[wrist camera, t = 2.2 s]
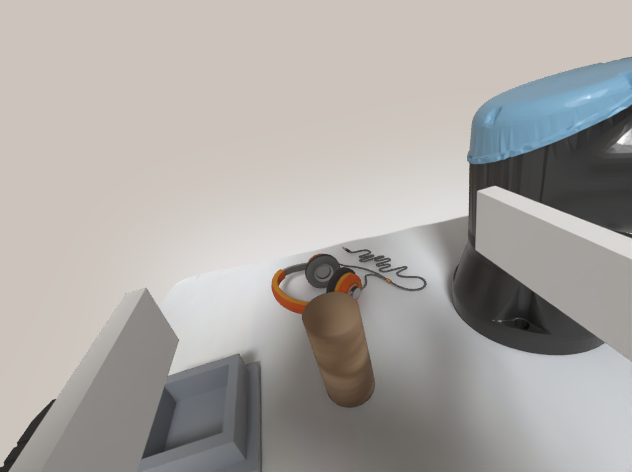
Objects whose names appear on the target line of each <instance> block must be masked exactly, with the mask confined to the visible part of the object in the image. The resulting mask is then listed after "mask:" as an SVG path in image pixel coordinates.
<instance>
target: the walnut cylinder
mask: <svg viewBox="0 0 632 472" xmlns="http://www.w3.org/2000/svg"><path fill="white" fill-rule="evenodd" d="M302 320H303V323H304V326H305V329H306V332H307V335H308V338H309V341H310V343H311V346H312V349H313V352H314V355H315V358H316V361H317V364H318V367H319V370H320V373H321V375H322V378H323V381H324V384H325V387H326V390H327V393H328V395H329V397H330V398H331V400H332V401H333V402H335V403H336V404H338V405H340V406H343V407H356V406H359V405H361V404H363V403H365V402H366V401H367V400H368V399H369V398H370V397H371V395H372V393H373V391H374V387H375V380H374V375H373V370H372V366H371V361H370V356H369V352H368V347H367V342H366V338H365V333H364V329H363V324H362V319H361V315H360V310H359V305H358V302H357V301H356V299H355V298H354V297H352V296H351V295H349V294H346V293H343V292H329V293H325V294H322V295H319V296H317V297H316V298H314V299H313V300H311V301H310V302H309V303H308V304H307V305H306V307H305V308H304V311H303V314H302Z"/></svg>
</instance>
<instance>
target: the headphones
mask: <svg viewBox="0 0 632 472" xmlns="http://www.w3.org/2000/svg"><path fill="white" fill-rule="evenodd" d="M342 248H343V249H345V251H347V252H350V253H356V252H360V251H368V252H369V253H367V254H364V255H361V256H359V258H363V259H360V260H359V261H360V262H366V261H370V260H373V259H374V261H383V260H387V259H389V260H387V261H385V262H381V263H378V264H376V266H378V267H379V266H384V265H389V266H386V267H382V268H380V269H379V271H380V272H389V271H393V270H397V269H401V268H404V269H402V270H400V271H398V272H397V273H396V274H397V275H398V276H399V277H405V278H420V279H422V280H423V281H424V282H425V285H424V286H423V287H421V288H418V289H408V288H404V287H401V286H399V285H396V284H395V283H393V282H392V281H391V280H390V279H388V278H385V277H384V276H382V275H380V274H378V273H376V272H374V271H371V270H369V269H365V268H362V267H357V266H347V265H343V264H339V263H338V261H337V260H336V259H335V258H334V257H333V256H331V255H328V254H317V255H314V256H313V257H312V258H311V259H310V260H309V261H308V263H302V264H297V265H293V266H290V267H287V268H285V269H283V270H279V271H278V272H277V273H276V274H275V275H274V277H273V279H272V292H273V294H274V297H275V298H276V300H277V301H278V302H279V303H280V304H281V305H282V306H283V307H285V308H286V309H288V310H290V311H293V312H296V313H300V314H303V311H304V308H305V307H306V305H307V304H308V303H309V302H304V301H299V300H296V299H293V298H291V297H289V296H287V295H286V294H285V293H283V292H282V290H281V289H280V288H279V284H280V283H281V281H282V280H283V279H285V276H286V275H288V274H291V273H294V272H298V271H302V270H305V275H306V278H307V280H308V282H309V283H310V284H311V285H312V286H314V287H317V288H325V287H327V292H326V293H329V292H343V293H346V294H349V295H351V296H352V297H354V298H355V299H356V300H357V299H358V297H359V295H360V292H361V290H362V289H364V288H365V286H366V285H367V278H366V276H369V275H373V276H377V277H380V278H383V279H384V280H386V281H387V282H388V283H391V284H393V285H395V286H397V287H399V288H402V289H405V290H410V291H416V290H421V289H423V288H424V287H425V286H426V281H425V279H423V278H422V277H418V276H401V275H399V274H398V273H399V272H401V271H403V270H406V269H407V268H408V267H407V266H403V267H399V268H395V269H391V270H387V271H382V270H381V269H384V268H388V267H390V266H391V265H390V264H383V263H386V262H389V261H391V259H390V258H385V259H381V258H384V256H378V257H375V258H372V259H369V260H364V259H368V258H371V257H374V255H369V254H370V253H371V251H369V250H359V251H355V252H351V251H350V250H349V249H347V248H344V247H342ZM366 255H368V256H366ZM362 256H364V257H362ZM366 257H367V258H366ZM379 257H380V258H379ZM377 259H381V260H377ZM361 260H364V261H361ZM379 264H382V265H379ZM340 265H341V266H345V267H343V268H340ZM347 267H354V268H359V269H363V270H367V271H370V272H372V273H375V274H367V275H365V281H366V282H365V285H364V286H363V287H362V284H361V279H360V278H359V277H358V276H357V275H356V274H355V272H354V271H353V270H351V269H349V268H347ZM405 267H406V268H405ZM376 274H377V275H376ZM361 287H362V288H361Z"/></svg>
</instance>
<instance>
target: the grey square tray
mask: <svg viewBox="0 0 632 472" xmlns="http://www.w3.org/2000/svg"><path fill="white" fill-rule="evenodd" d="M137 472H261V427H260V367H259V365H258V363H257V362H254V363H251V364H248V365H245V364H244V362H243V360H242V358H241V356H240V354H236V355H233V356H230V357H227V358H224V359H220V360H217V361H214V362H211V363H208V364H205V365H201V366H198V367H195V368H192V369H189V370H185V371H182V372H179V373H176V374H173V375H170V376H167V380H166V383H165V386H164V389H163V392H162V395H161V398H160V402H159V405H158V408H157V411H156V414H155V417H154V421H153V424H152V427H151V430H150V433H149V436H148V439H147V443H146V446H145V449H144V452H143V455H142V458H141V462H140V465H139V468H138V471H137Z"/></svg>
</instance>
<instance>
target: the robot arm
mask: <svg viewBox="0 0 632 472" xmlns="http://www.w3.org/2000/svg"><path fill="white" fill-rule="evenodd" d="M467 160H468V161H469V163H470V168H469V170H470V173H469V230H468V243H467V245H466V248H465V250H464V253H463V255H462V258H461V261H460V263H459V265H458V266H457V267H456V269H455V272H454V274H453V278H452V300H453V304H454V306H455V308H456V310H457V312H458V313H459V315H460V316H461V317H462V318H463V320H464V321H465V322H466V323H467V324H469V325H470V326H471V327H472V328H473V329H475V330H476V331H478V332H479V333H481V334H482V335H484V336H486V337H488V338H489V339H491V340H493V341H496V342H498V343H500V344H503V345H505V346H508V347H511V348H514V349H518V350H522V351H526V352H531V353H537V354H546V355H569V354H577V353H582V352H586V351H589V350H592V349H595V348H597V347H599V346H600V345H602V344H604V343H607V344H608V345H609V346H611V347H612V348H614V349H615V350H616V351H618V352H619V353H621V354H622V355H623V356H625V357H626V358H628V359H629V360H630V361H632V234H629V233H632V57H628V58H623V59H620V60H614V61H611V62H607V63H598V64H593V65H589V66H585V67H581V68H577V69H573V70H569V71H565V72H562V73H558V74H555V75H552V76H548V77H545V78H542V79H539V80H535V81H532V82H529V83H527V84H524V85H521V86H518V87H515V88H513V89H510V90H508V91H506V92H503V93H501V94H499V95H497V96H495V97H493V98H492V99H490V100H488V101H487V102H486V103H484V104H483V105H482V106H481V107H480V108H479V110H478V111H477V112H476V114H475V116H474V118H473V121H472V128H471V140H470V151H469V152H468V155H467ZM625 232H628V233H625ZM178 342H179V339H178V337H177V336H176V334H175V333H174V331H173V329H172V328H171V326H170V325H169V323H168V322H167V320H166V318H165V317H164V315H163V314H162V312H161V310H160V309H159V307H158V306H157V304H156V302H155V301H154V299H153V298H152V296H151V295H150V293H149V291H148V290H147V288H144V289H140V290H137V291H133V292H130V293H127V294H125V296H124V297H123V298H122V300H121V301H120V303H119V305H118V306H117V308H116V309H115V311H114V312H113V314H112V315H111V317H110V318H109V320H108V321H107V323H106V324H105V326H104V327H103V329H102V330H101V332H100V333H99V335H98V336H97V338H96V339H95V341H94V342H93V344H92V345H91V347H90V349H89V350H88V352H87V353H86V355H85V356H84V358H83V359H82V361H81V362H80V364H79V365H78V367H77V368H76V370H75V371H74V373H73V374H72V376H71V377H70V379H69V380H68V382H67V384H66V385H65V387H64V388H63V390H62V391H61V393H60V394H59V396H58V397H57V399H54V400H52V401H51V402H50V403H49V404H48V405H47V406H46V407H45V408H44V409H43V410H42V411H41V412H40V413H39V414H38V415H37V417H36V418H35V419H34V420H33V421H32V422H31V423H30V425H29V426H28V428H27V429H26V431H25V432H24V434H23V435H22V437H21V438H20V439H19V441H18V442H17V447H15V448H13V450H12V451H11V453H10V454H9V455H8V457H7V458H6V460H5V461H4V466H3V467H0V472H137V471H138V468H139V465H140V462H141V458H142V455H143V452H144V449H145V446H146V443H147V439H148V436H149V433H150V430H151V427H152V424H153V421H154V417H155V414H156V411H157V408H158V405H159V402H160V398H161V395H162V392H163V389H164V386H165V383H166V380H167V376H168V373H169V370H170V367H171V364H172V361H173V357H174V354H175V351H176V348H177V345H178Z"/></svg>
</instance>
